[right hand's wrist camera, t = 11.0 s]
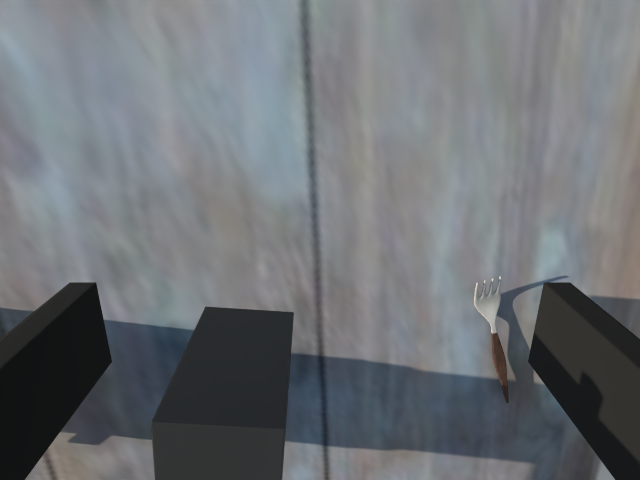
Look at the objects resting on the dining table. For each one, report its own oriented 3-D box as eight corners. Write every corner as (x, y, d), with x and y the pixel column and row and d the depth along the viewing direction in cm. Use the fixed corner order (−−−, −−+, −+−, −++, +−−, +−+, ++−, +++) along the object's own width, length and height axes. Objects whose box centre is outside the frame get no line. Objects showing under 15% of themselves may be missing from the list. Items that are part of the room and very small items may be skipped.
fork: (493, 402, 47) (500, 415, 45) (467, 274, 42) (474, 283, 40) (517, 396, 47) (525, 409, 45) (495, 267, 41) (503, 276, 39)
